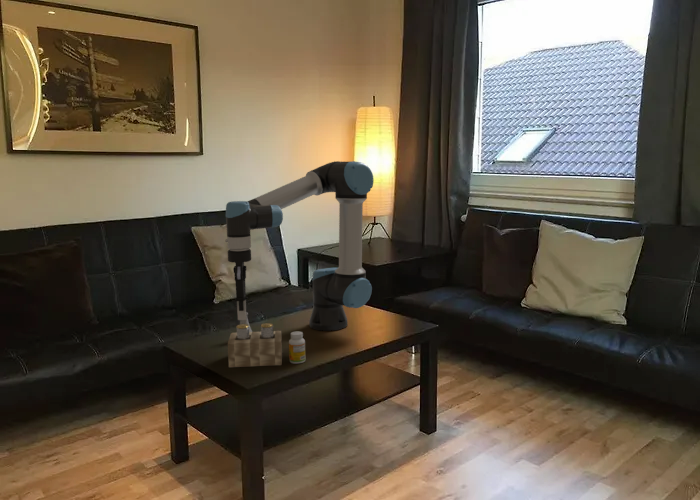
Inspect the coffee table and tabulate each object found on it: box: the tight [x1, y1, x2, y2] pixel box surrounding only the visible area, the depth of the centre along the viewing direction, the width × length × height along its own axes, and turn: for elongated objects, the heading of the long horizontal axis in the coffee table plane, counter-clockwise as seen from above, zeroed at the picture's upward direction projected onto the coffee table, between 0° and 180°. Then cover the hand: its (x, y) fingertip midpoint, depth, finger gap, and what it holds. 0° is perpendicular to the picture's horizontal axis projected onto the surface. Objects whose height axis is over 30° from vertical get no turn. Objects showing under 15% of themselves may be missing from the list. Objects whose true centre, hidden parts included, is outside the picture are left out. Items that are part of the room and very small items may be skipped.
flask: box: [239, 311, 253, 332], centre depth 231 cm, size 7×7×10 cm
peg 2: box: [260, 322, 274, 339], centre depth 207 cm, size 4×4×8 cm
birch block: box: [227, 330, 283, 368], centre depth 208 cm, size 17×12×8 cm
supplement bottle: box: [288, 330, 307, 365], centre depth 206 cm, size 5×5×10 cm
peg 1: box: [236, 323, 250, 340], centre depth 207 cm, size 4×4×8 cm
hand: (242, 319), depth 206 cm, fingers closed
